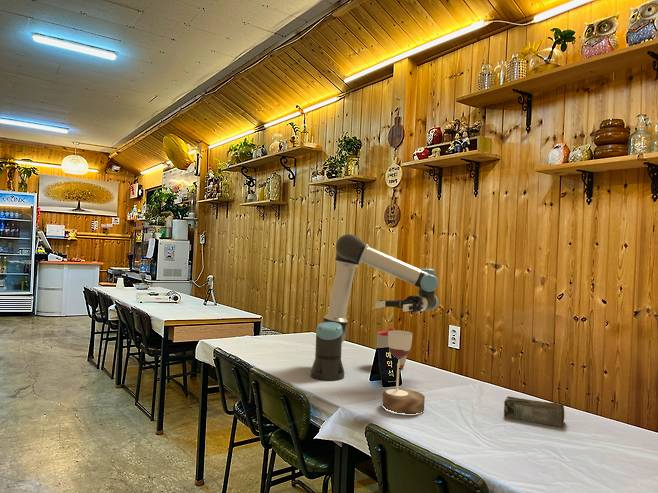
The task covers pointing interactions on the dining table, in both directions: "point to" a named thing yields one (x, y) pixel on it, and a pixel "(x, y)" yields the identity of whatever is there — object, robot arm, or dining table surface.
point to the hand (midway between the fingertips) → (389, 306)
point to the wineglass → (399, 353)
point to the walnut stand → (404, 402)
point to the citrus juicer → (383, 342)
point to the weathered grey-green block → (534, 411)
